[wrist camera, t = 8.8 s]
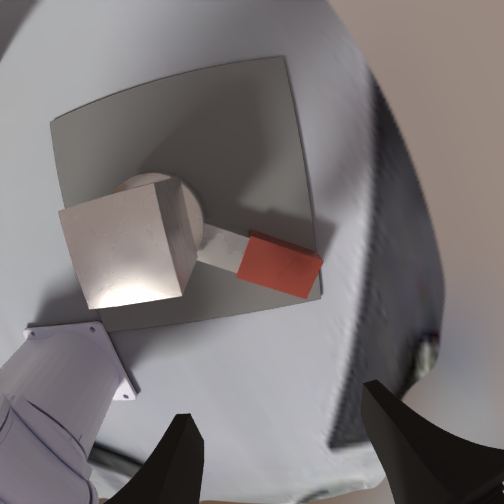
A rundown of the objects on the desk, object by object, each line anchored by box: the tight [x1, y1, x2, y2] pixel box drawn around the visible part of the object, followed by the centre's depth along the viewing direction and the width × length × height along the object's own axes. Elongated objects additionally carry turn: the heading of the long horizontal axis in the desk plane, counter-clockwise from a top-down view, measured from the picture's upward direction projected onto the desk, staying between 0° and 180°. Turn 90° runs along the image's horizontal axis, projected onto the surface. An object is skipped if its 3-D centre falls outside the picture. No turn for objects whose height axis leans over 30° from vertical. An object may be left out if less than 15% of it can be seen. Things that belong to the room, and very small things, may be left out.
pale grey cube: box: [58, 176, 198, 310], centre depth 14 cm, size 5×5×5 cm
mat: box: [50, 57, 321, 332], centre depth 18 cm, size 16×16×1 cm
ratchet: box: [113, 172, 323, 299], centre depth 16 cm, size 13×6×5 cm, turn 70°
